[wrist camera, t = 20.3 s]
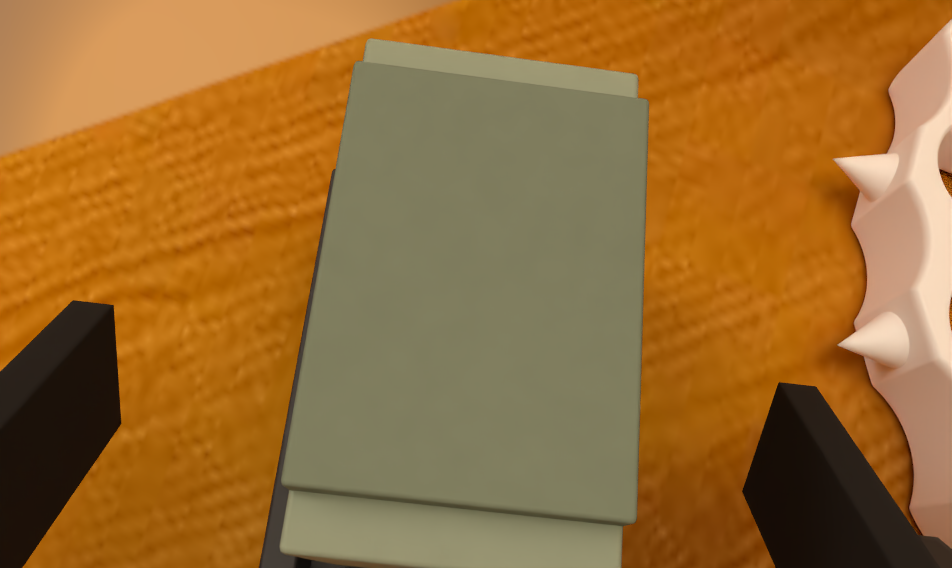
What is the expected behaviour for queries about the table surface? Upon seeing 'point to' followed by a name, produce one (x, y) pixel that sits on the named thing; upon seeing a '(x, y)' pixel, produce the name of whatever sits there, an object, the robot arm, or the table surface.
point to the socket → (273, 561)
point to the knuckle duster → (912, 275)
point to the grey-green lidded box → (474, 319)
